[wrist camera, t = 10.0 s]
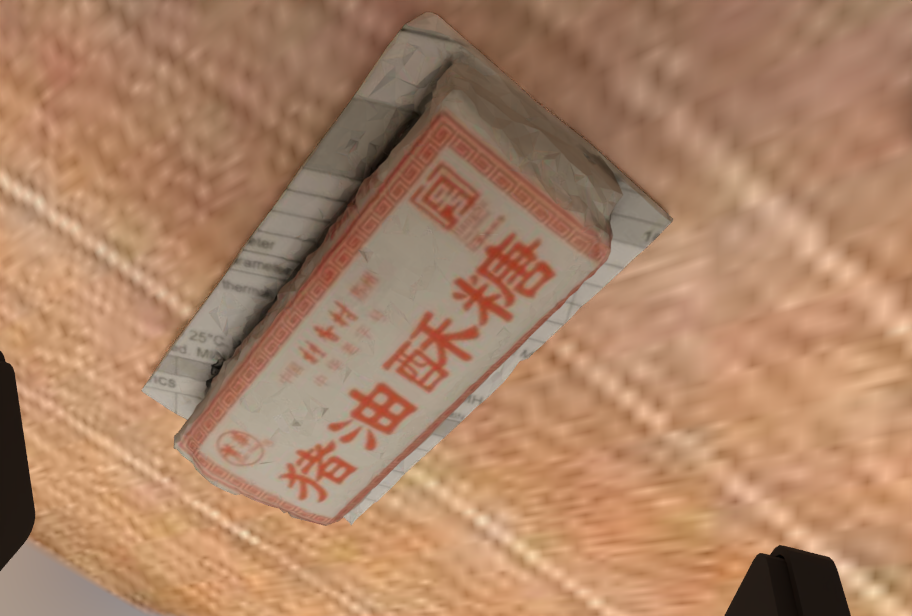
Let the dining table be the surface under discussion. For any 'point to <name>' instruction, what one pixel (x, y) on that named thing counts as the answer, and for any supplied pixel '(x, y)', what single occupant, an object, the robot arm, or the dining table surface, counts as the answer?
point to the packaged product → (396, 282)
